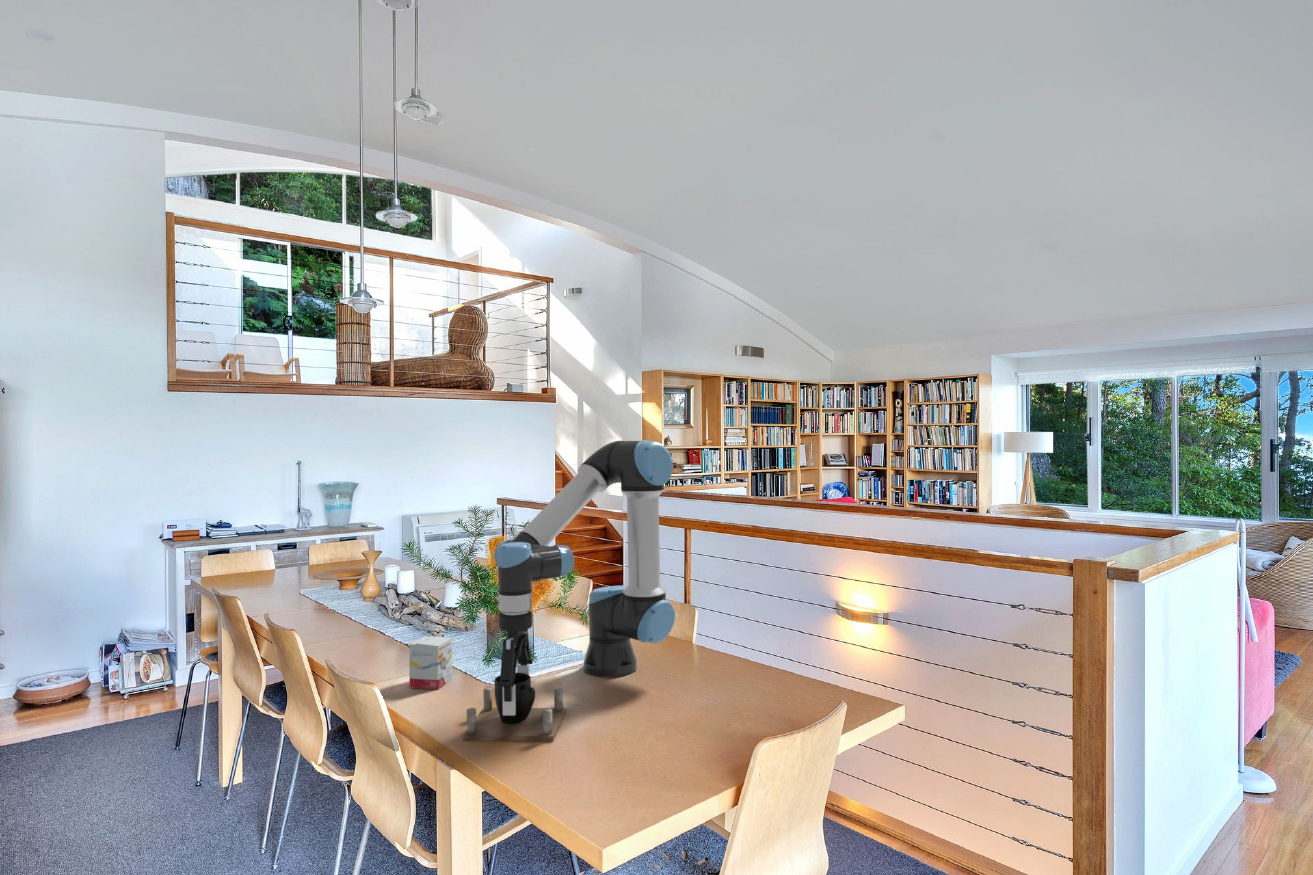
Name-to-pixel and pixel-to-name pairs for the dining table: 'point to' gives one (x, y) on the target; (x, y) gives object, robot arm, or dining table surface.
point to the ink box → (430, 662)
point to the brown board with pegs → (535, 727)
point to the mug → (523, 698)
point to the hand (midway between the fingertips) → (516, 703)
